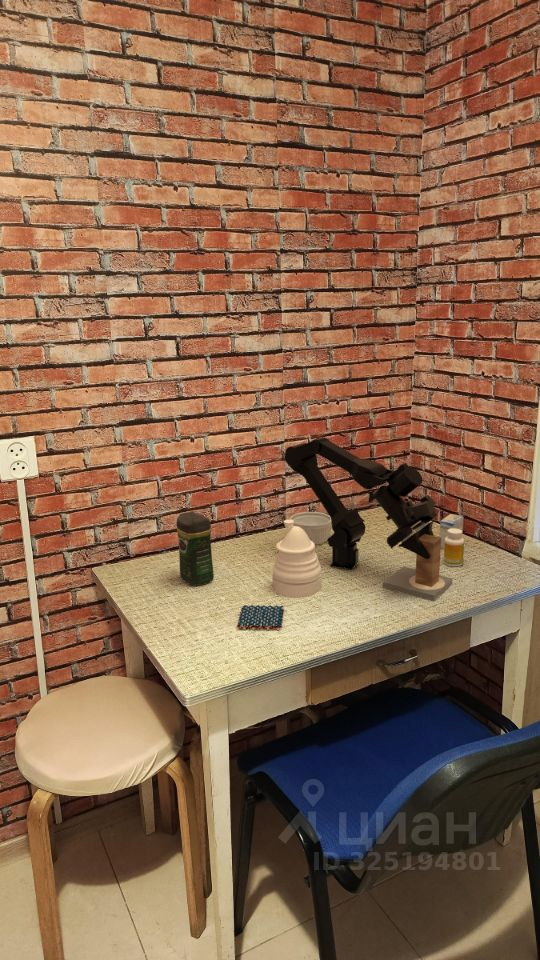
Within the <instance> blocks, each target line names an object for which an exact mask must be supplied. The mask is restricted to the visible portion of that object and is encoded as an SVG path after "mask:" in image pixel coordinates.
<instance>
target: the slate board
mask: <svg viewBox="0 0 540 960" xmlns="http://www.w3.org/2000/svg"><path fill="white" fill-rule="evenodd" d="M415 575H416V568H411V567H407V566H405V565H403V566H402V567H401V568H399V569H398V570H397V571H395V572H393V574H391V575H390V576H389V577H387V578H386V579H385V580H383V581H382V588H383V589H387V590H391V591H395V592H398V593H403V594H405V595H411V596H414V597H417V598H420V597H421V599H424V598H425V599H424V600H428V601H433V602H435V600H436V599H438V598H439V597H440V596H441V595H442V593H444V592H445V591H446V590H447V589H449V587H450V586H452V585H453V578H452V577H449V576H445V575H440V574H439V581H438V582H437V583H436V584H435V585H433V586H432V587H429V586H426V585H422V584H418V583H415ZM439 595H440V596H439ZM438 596H439V597H438Z"/></svg>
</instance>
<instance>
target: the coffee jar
mask: <svg viewBox="0 0 540 960" xmlns="http://www.w3.org/2000/svg"><path fill="white" fill-rule="evenodd" d="M176 532H177V537H178V551H179V552H178V553H179V559H178V560H179V577H180V579H182V581H183V582H184V583H187V584H188V585H189V586H197V585H198V586H199V585H200V586H202V585H206V584H209V583H210V582H212V581H213V580H214V578H215V577H214V574H215V573H214V564H213V555H212V554H213V553H212V552H213V551H212V541H211V539H212V538H211V536H212V535H211V533H212V526H211V520H210V518H209V517H207V516H204V515H202V514H200V513H198V512H195V511H193V510H192V511H188V512H183V513H180V514H179V515H178V516H177V518H176Z"/></svg>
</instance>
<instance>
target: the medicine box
mask: <svg viewBox="0 0 540 960" xmlns="http://www.w3.org/2000/svg"><path fill="white" fill-rule="evenodd" d="M451 528H456V529H460V530H462V534H463V533H464V532H463V530H464V516H463V515H458V514H455V513H454V514H453V513H449V515H447V516H445V517H444V518H442V520H440V522H439V532H438V533H439V536H438V537H441V550H444V540H445V538H446V537H447V536H448V535H447V530H448V529H451Z"/></svg>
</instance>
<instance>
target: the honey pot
mask: <svg viewBox="0 0 540 960" xmlns="http://www.w3.org/2000/svg"><path fill="white" fill-rule="evenodd" d="M293 524H294V521H293V520H290V519H284V520H283V525H284V527H285V528H286V529H289V530H288V531H287V532H286V534H285V535H284V538H283V539H282V540H280V541H278V542H277V543H276V550H277V552H278V553H277V554H276V556H275V560H274V564H273V566H272V570H271V571H272V589H273V590H274V592H275V593H277V594H279V595H281V596H283V597H288V598H305V597H310V596H313V595H315V594H317V593H319V592H320V591H321V590H322V586H323V585H322V584H323V583H322V582H323V581H322V577H323V576H322V566H321V564H320V562H319V561H320V560H319V558H318V554H317V553H316V551H315V548H316V545H315V544H314V543H313V542H312V541H310V539H309V537H308V536H307V534H306V533H305V531H304V530H303V529H302V528H300V527H298V526H293Z"/></svg>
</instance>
